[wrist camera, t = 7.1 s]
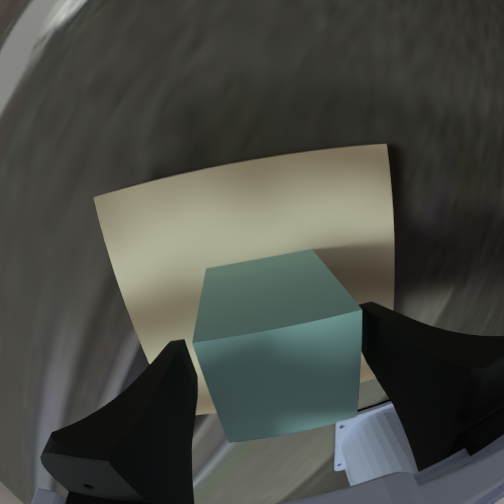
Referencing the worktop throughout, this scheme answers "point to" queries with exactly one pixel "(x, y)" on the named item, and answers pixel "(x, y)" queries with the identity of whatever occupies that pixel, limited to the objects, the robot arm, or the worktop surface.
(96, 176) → the worktop surface
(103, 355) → the worktop surface
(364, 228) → the birch base board
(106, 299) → the worktop surface
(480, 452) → the robot arm
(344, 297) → the teal block
